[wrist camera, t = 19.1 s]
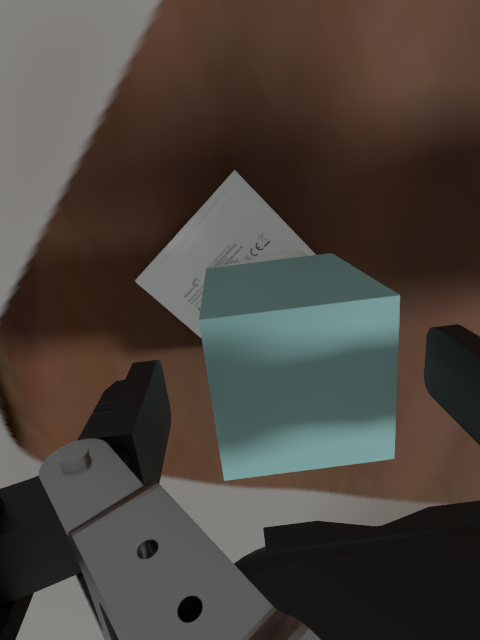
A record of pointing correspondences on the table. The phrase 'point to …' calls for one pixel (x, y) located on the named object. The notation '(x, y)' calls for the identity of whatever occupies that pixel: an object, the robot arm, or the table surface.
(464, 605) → the robot arm
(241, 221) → the external hard drive
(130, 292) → the table surface
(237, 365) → the teal block
